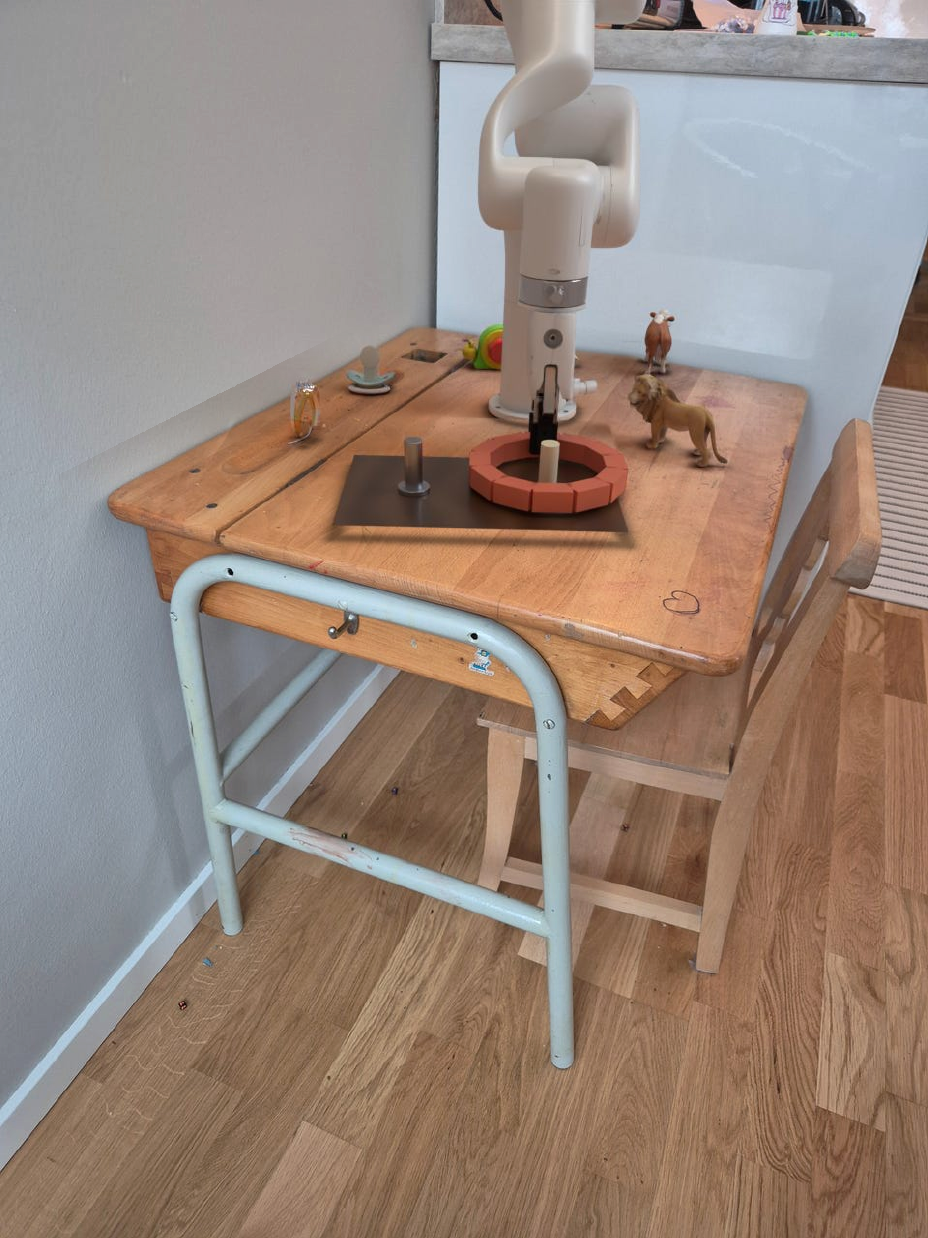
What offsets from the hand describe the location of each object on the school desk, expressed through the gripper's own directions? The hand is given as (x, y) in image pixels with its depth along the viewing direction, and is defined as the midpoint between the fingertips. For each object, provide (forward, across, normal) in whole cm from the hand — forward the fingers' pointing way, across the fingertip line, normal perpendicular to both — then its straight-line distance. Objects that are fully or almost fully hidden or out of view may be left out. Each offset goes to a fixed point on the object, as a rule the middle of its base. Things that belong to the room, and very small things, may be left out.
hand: (541, 447), depth 105 cm
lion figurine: (+3, +7, -17) cm, 19 cm away
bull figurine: (+2, +44, -22) cm, 49 cm away
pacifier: (+3, +29, +24) cm, 38 cm away
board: (+3, -10, +8) cm, 13 cm away
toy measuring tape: (+2, +42, +1) cm, 42 cm away
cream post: (+1, -10, 0) cm, 11 cm away
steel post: (+1, -10, +15) cm, 18 cm away
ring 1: (+3, +7, +30) cm, 31 cm away
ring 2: (+1, -8, 0) cm, 8 cm away
